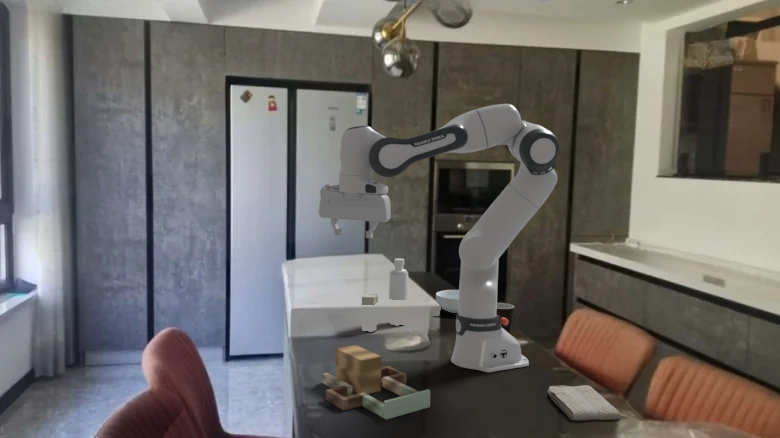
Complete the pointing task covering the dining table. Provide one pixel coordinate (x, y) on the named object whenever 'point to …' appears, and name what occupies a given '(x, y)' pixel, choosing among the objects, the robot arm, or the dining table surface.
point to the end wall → (406, 404)
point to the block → (359, 369)
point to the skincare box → (369, 299)
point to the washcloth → (582, 403)
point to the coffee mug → (505, 314)
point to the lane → (345, 400)
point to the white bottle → (398, 281)
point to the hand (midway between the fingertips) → (353, 236)
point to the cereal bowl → (448, 300)
